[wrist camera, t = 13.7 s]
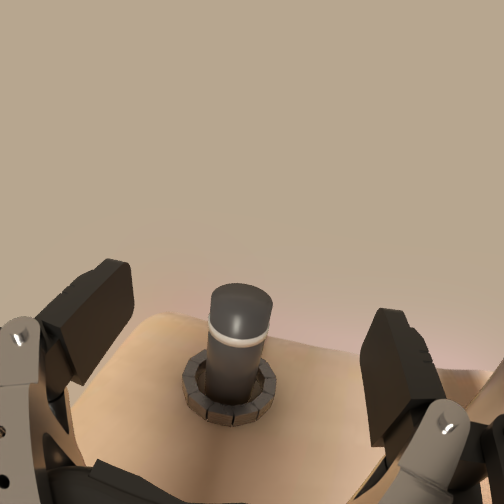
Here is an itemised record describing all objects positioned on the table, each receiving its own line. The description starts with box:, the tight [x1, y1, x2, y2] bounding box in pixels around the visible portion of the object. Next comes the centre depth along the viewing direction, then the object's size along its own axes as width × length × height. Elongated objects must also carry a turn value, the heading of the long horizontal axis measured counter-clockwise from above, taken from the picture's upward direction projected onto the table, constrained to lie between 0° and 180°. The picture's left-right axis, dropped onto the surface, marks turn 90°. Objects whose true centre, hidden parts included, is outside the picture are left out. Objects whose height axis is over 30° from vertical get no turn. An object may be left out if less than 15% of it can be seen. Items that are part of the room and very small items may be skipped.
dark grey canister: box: [205, 283, 273, 406], centre depth 27 cm, size 5×5×12 cm
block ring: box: [182, 350, 276, 427], centre depth 29 cm, size 9×9×2 cm
